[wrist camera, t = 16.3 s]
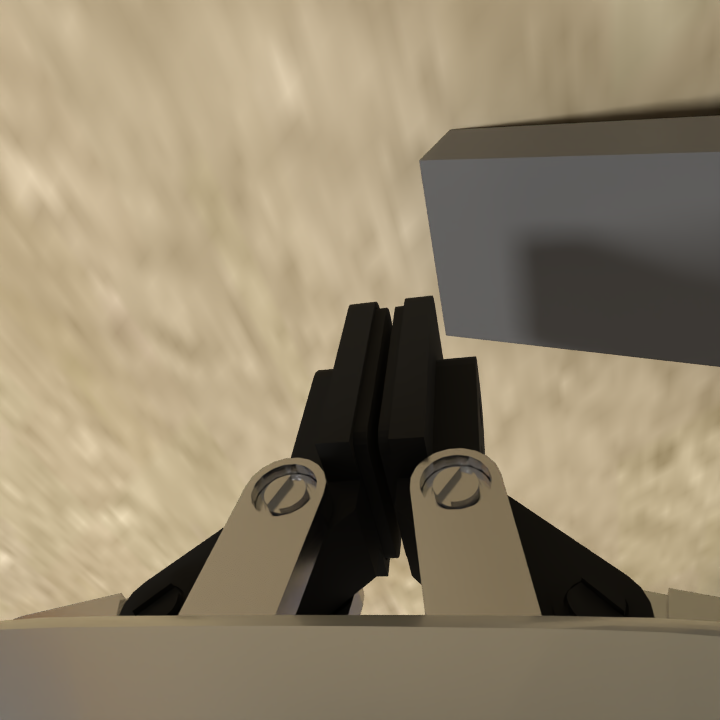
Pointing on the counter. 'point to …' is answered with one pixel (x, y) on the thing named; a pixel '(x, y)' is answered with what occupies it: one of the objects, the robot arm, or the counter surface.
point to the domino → (581, 235)
